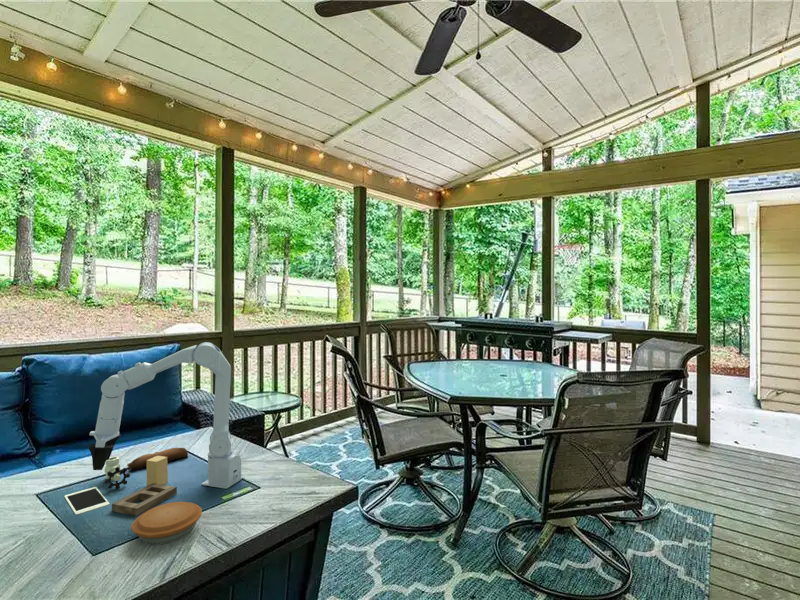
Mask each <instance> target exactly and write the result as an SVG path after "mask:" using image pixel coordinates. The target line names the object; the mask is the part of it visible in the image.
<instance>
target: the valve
mask: <svg viewBox="0 0 800 600" xmlns="http://www.w3.org/2000/svg"><path fill="white" fill-rule="evenodd" d="M127 471H128V469H127V467H123V468H122V470H121V465H120V458H119V456H110V458H109V460H106V462H105V465H104V473H105V478H104V479H103V482H104V483H105V484H107V489H109V490H110V489H112V488H113V487H114V488H115V489H116V490H118V489H120V488H121V485H122V484H123V485H124V486H125V485H127V484H128V481H127V480H126V479H128V478H130V476H131V474H130V473H129V472H127ZM126 472H127V473H126ZM122 475H123V478H122V480H121V477H122ZM112 481H115V483H114V482H112ZM119 481H120V482H119ZM108 483H109V484H108Z"/></svg>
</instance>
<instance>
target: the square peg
mask: <svg viewBox="0 0 800 600" xmlns="http://www.w3.org/2000/svg"><path fill="white" fill-rule="evenodd" d="M146 461H147V466H146V486H148V485H150V484H152V483H155V484H162V485H166V484H168V483H169V482H168V481H169V479H168V476H169V475H168V474H169V472H168V461H167V457H164V456H155V457H153V458H151V459H149V460H146Z"/></svg>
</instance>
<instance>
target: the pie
mask: <svg viewBox="0 0 800 600" xmlns="http://www.w3.org/2000/svg"><path fill="white" fill-rule="evenodd" d="M202 513H203V509H202V507H201V506H199V505H198V504H196V503H194V502H189V501H172V502H168V503H164V504H158V505H156V506H154V507H152V508H150V509H149V510H147V511H145V512H143V513H142V514H140V515H138V516H137V517H136V518H135V520H134V521H133V522H132V523H131V530H132V532H133V534H135V535H136V536H137V537H138V538H139V539H140V540H141V541H142V542H143V543H145V544H147V545H164V544H168V543H169V544H170V543H171V542H175V541H178V540H179V539H182V538H184V537H185V536H187V535H189V534H190V533H191V532H192V530H193V528H194V526H195V525H196V523H197V522H198V521H199V519H200V518H201V517H202Z"/></svg>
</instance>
